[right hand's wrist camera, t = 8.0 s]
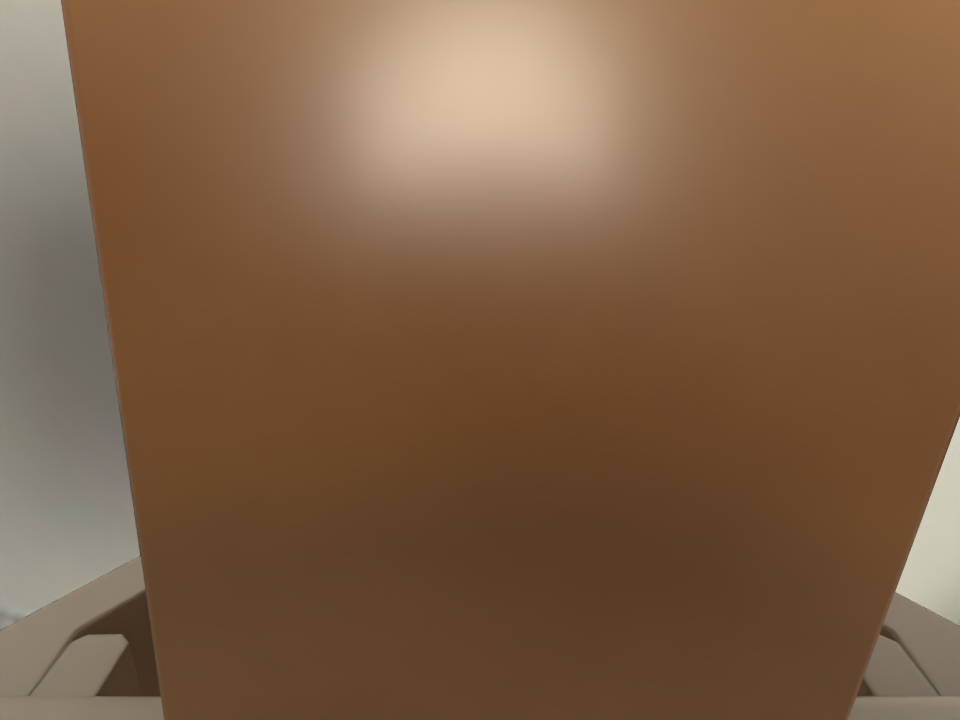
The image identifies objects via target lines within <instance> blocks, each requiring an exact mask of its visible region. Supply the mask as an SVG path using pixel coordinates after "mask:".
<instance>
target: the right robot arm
mask: <svg viewBox="0 0 960 720" xmlns="http://www.w3.org/2000/svg"><path fill="white" fill-rule="evenodd" d="M0 720H164V716H163V709H162V702H161V695H160V688H159V681H158V674H157V667H156V660H155V653H154V646H153V639H152V632H151V625H150V618H149V611H148V604H147V597H146V590H145V583H144V576H143V570H142V563H141V556H139V557H137V558H135V559H133V560H131V561H130V562H128V563H126V564H124V565H122V566H120V567H118V568H116V569H115V570H113V571H111V572H109V573H107V574H105V575H103V576H101V577H100V578H98V579H96V580H94V581H92V582H90V583H88V584H86V585H84V586H83V587H81V588H79V589H77V590H75V591H73V592H71V593H69V594H68V595H66V596H64V597H62V598H60V599H58V600H56V601H54V602H53V603H51V604H49V605H47V606H45V607H43V608H41V609H39V610H38V611H36V612H34V613H32V614H30V615H28V616H26V617H24V618H22V619H21V620H19V621H17V622H15V623H13V624H11V625H9V626H7V627H6V628H4V629H2V630H0ZM848 720H960V626H959V625H957V624H955V623H953V622H951V621H949V620H947V619H945V618H943V617H941V616H940V615H938V614H936V613H934V612H932V611H930V610H928V609H926V608H924V607H923V606H921V605H919V604H917V603H915V602H913V601H911V600H909V599H907V598H906V597H904V596H902V595H900V594H898V593H896V592H895V593H894V596H893V599H892V601H891V604H890V607H889V609H888V612H887V615H886V617H885V620H884V623H883V626H882V628H881V631H880V634H879V636H878V639H877V642H876V645H875V647H874V650H873V653H872V655H871V658H870V661H869V664H868V666H867V669H866V672H865V674H864V677H863V680H862V683H861V685H860V688H859V691H858V693H857V696H856V699H855V702H854V704H853V707H852V710H851V712H850V715H849V718H848Z"/></svg>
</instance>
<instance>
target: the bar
mask: <svg viewBox="0 0 960 720" xmlns="http://www.w3.org/2000/svg"><path fill="white" fill-rule="evenodd" d="M61 4H62V11H63V18H64V25H65V32H66V39H67V46H68V53H69V60H70V67H71V74H72V81H73V88H74V95H75V102H76V109H77V116H78V123H79V130H80V137H81V144H82V151H83V158H84V165H85V172H86V179H87V186H88V193H89V200H90V207H91V214H92V221H93V227H94V234H95V241H96V248H97V255H98V262H99V269H100V276H101V283H102V290H103V297H104V304H105V311H106V318H107V325H108V332H109V339H110V346H111V353H112V360H113V367H114V374H115V381H116V388H117V395H118V402H119V409H120V416H121V423H122V430H123V437H124V444H125V451H126V458H127V465H128V472H129V479H130V486H131V493H132V500H133V507H134V514H135V521H136V528H137V535H138V542H139V549H140V556H141V563H142V570H143V576H144V583H145V590H146V597H147V604H148V611H149V618H150V625H151V632H152V639H153V646H154V653H155V660H156V667H157V674H158V681H159V688H160V695H161V702H162V709H163V716H164V720H848V718H849V715H850V712H851V710H852V707H853V704H854V702H855V699H856V696H857V693H858V691H859V688H860V685H861V683H862V680H863V677H864V674H865V672H866V669H867V666H868V664H869V661H870V658H871V655H872V653H873V650H874V647H875V645H876V642H877V639H878V636H879V634H880V631H881V628H882V626H883V623H884V620H885V617H886V615H887V612H888V609H889V607H890V604H891V601H892V599H893V596H894V593H895V590H896V588H897V585H898V582H899V580H900V577H901V574H902V571H903V569H904V566H905V563H906V561H907V558H908V555H909V552H910V550H911V547H912V544H913V542H914V539H915V536H916V533H917V531H918V528H919V525H920V523H921V520H922V517H923V514H924V512H925V509H926V506H927V504H928V501H929V498H930V495H931V493H932V490H933V487H934V485H935V482H936V479H937V476H938V474H939V471H940V468H941V466H942V463H943V460H944V458H945V455H946V452H947V449H948V447H949V444H950V441H951V439H952V436H953V433H954V430H955V428H956V425H957V422H958V420H959V417H960V0H61Z"/></svg>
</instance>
